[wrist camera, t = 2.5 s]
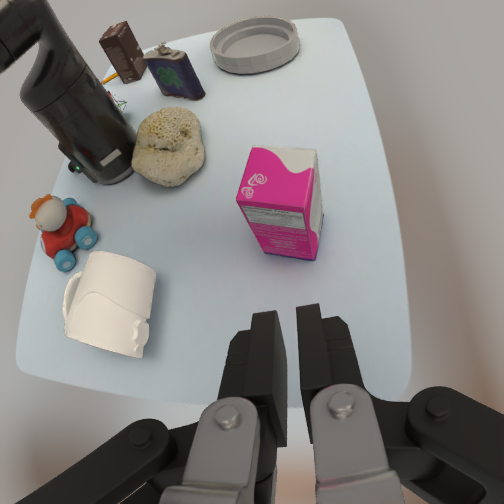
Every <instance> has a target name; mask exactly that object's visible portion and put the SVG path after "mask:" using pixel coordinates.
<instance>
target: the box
mask: <svg viewBox="0 0 504 504" xmlns="http://www.w3.org/2000/svg"><path fill="white" fill-rule="evenodd" d="M99 43H100V45H101V46H102V48H103V49H104V52H105V53H106V55H107V57H108V58H109V60H110V62H111V63H112V65H113V67H114V68H115V70H116V72H117V73H118V75H119V77H120V78H121V80H122V82H123V83H124V84H125V83H130V82H133V81H136V80H139V79H140V78H141V76H142V74H143V72H144V70H145V68H146V66H147V64H146V63H145V61H144V60H143V56H144V54H143V52H142V50H141V48H140V47H139V44H138V43H137V41H136V39H135V37H134V35H133V33H132V31H131V29H130V27H129V25H128V23H127V21H124V22H121V23H119V24H116V25H113V26H110V28H109V29H108V30H107V31H106V32H105V33H104V34H103V36H102V38H101V39H100V40H99Z"/></svg>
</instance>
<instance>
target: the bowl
mask: <svg viewBox="0 0 504 504" xmlns="http://www.w3.org/2000/svg"><path fill="white" fill-rule="evenodd" d="M299 46H300V44H299V38H298V32H297V28H296V26H295V24H293V23H292V22H290V21H289V20H287V19H284V18H280V17H273V16H262V17H261V16H260V17H252V18H247V19H243V20H240V21H237V22H234V23H232V24H230V25H228V26H226V27H224V28H223V29H221V30H220V31H218V32H217V33H216V34H215V35H214V36H213V38H212V39H211V41H210V49H211V52H212V55H213V57H214V60H215V62H216V64H217V65H218V66H219V68H221V69H223V70H225V71H227V72H232V73H238V74H247V73H258V72H262V71H267V70H271V69H273V68H276V67H279V66H281V65H283V64H285V63H286V62H288V61H290V60H291V59H292V58H293V57H294V56H295V55H296V54H297V53H298V50H299Z"/></svg>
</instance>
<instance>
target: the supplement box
mask: <svg viewBox="0 0 504 504" xmlns="http://www.w3.org/2000/svg"><path fill="white" fill-rule="evenodd" d="M236 202H237V204H238V205H239V207H240V209H241V211H242V213H243V215H244V216H245V218H246V220H247V222H248V224H249V226H250V227H251V229H252V231H253V233H254V235H255V237H256V239H257V240H258V242H259V244H260V246H261V248H262V250H263V252H264V253H268V254H274V255H280V256H286V257H292V258H298V259H304V260H311V261H315V258H316V254H317V250H318V245H319V240H320V234H321V229H322V223H323V216H324V214H323V207H322V197H321V187H320V177H319V168H318V159H317V151H316V150H315V149H300V148H284V147H269V146H252V149H251V152H250V155H249V159H248V162H247V165H246V168H245V171H244V174H243V178H242V181H241V184H240V187H239V191H238V194H237V197H236Z"/></svg>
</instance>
